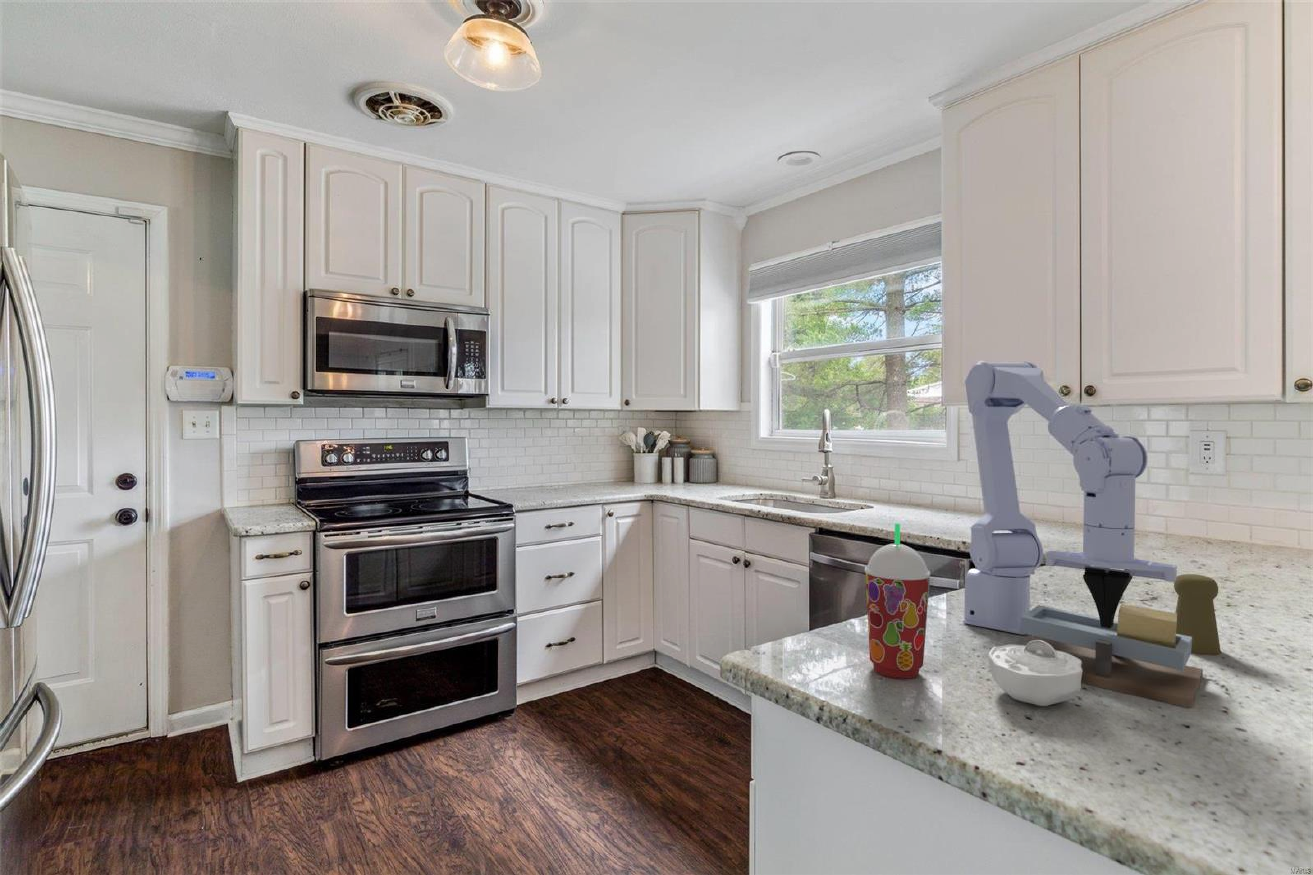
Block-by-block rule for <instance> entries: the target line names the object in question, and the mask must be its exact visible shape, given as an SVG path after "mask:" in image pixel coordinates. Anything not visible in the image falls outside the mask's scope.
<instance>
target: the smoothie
mask: <svg viewBox="0 0 1313 875" xmlns="http://www.w3.org/2000/svg"><path fill="white" fill-rule="evenodd" d="M864 572H865V593H866V611H867V628H868V629H867V630H868V646H869V648H868V649H869V650H868V651H869V660H870V662H871V663H872V665H873V669H874V671H875V672H876V673H878V674H879V675H882V676H884V677H888V678H892V679H901V680H902V679H904V680H905V679H906V680H907V679H912V678H916V677H918V675H919V674H920V670H921V668H923V667H924V658H925V649H926V648H925V646H926V645H925V644H926V635H927V634H926V633H927V620H928V606H929V605H928V604H929V594H930V593H929V592H930V583H931V582H930V578H931V571H930V570H929V569H928V568H927V564H926V562H925V561H924V559H923V557H922V556H921V555H920V554H919V552H917V551H916V550H915V549H914V548H912V547H910V546H908V545H905V544H902V543H901V524H900V523H894V543H889V544H886V545H883V546H880V548H877V550H876V551H875V552H874V553H873V554H872V555H871V557H870V559H869V561H868V563H867V565H865V566H864Z"/></svg>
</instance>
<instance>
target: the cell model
mask: <svg viewBox="0 0 1313 875" xmlns="http://www.w3.org/2000/svg"><path fill="white" fill-rule="evenodd" d="M1081 664H1082V661H1081V660H1080V659H1078V658H1077V657H1075V656H1072V655H1070V654H1068V653H1065V652H1062V651H1057V650H1054V648H1053V647H1052V646H1051V645H1050V644H1048V643H1047V642H1045V641H1042V640H1033V641H1030V642H1029V643H1028V644H1027V645H1026V646H1024V644H1023V645H1022V644H1015V643H1014V644H1013V643H1012V644H1005V645H1000V646H993V647H992V648H991V649H990V651H989V652H988V667H989V670H990V674H991V676H992V679H993V680H994V681H995V682H996V684H997V686H999V688H1000V689H1002V691H1003V692H1005V693H1006V694H1007V695H1009V696H1010V697H1011V698H1013V699H1015V700H1017V701H1019V702H1023V703H1028V704H1030V705H1035V706H1040V707H1047V706H1051V705H1054V704H1059V703H1064V702H1066V701H1069V700H1070V699H1072V698H1073V697H1074V696H1076V695H1078V694H1079V693H1080V690H1081V688H1082V683H1081V677H1082V671H1083V670H1082V668H1081Z"/></svg>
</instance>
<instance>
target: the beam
mask: <svg viewBox="0 0 1313 875" xmlns="http://www.w3.org/2000/svg"><path fill="white" fill-rule="evenodd" d="M1117 627H1118V620H1114V622H1113V626H1112V627H1111V628H1105V627H1101V624H1100V618H1099V616H1098V617H1096V616H1094V615H1090V614H1089V615H1088V614H1083V613H1080V612H1079V613H1078V612H1074V611H1070V610H1069V611H1068V610H1066V609H1065V610H1063V609H1060V608H1054V607H1049V606H1044V605H1041V604H1039V605H1037V606H1035V607H1034V608H1032V609H1030V611H1029V612H1028V613H1026V614H1025V615H1023V616H1022V617H1021V628H1020V632H1021V633H1025V635H1029V636H1033V637H1034V636H1037V637H1042V638H1046V639H1050V640H1054V641H1058V642H1063V643H1067V644H1071V645H1075V646H1079V647H1084V648H1088V649H1092V650H1095V649H1096V640H1102V641H1107V642H1112V654H1113V655H1117V656H1121V657H1126V658H1130V659H1134V660H1138V661H1143V662H1147V663H1151V664H1155V665H1159V666H1164V667H1168V668H1172V669H1176V670H1180V671H1183V670H1184V668H1185V666H1187V663H1188V661H1189V659H1190V657H1191V655H1192V653H1191V647H1192V637H1190V636H1185V635H1180V634H1176V639H1175V649H1174V648H1170V647H1165V646H1161V645H1156V644H1152V643H1147V642H1143V641H1138V640H1133V639H1129V638H1124V637H1120V636H1117Z"/></svg>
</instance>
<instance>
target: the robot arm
mask: <svg viewBox="0 0 1313 875" xmlns="http://www.w3.org/2000/svg"><path fill="white" fill-rule="evenodd" d="M1044 378H1045V375H1044V371H1043V370H1042V369H1041V368H1039V367H1038V366H1037V365H1036V364H1035V363H1033V362H1030V361H1024V362H1005V361H1003V362H1002V361H1000V362H999V361H998V362H997V361H992V362H991V361H986V360H979V361H977V362H975V363H974V364H973V365H972V366H971V368H970V370H969V372H968V374H967V376H966V378H965V381H964V382H965V383H964V384H965V391H966V397H967V398H966V399H967V406H968V412H969V413H970V414H971V417H972V427H973V432H974V433H973V434H974V435H973V436H974V442H975V448H976V456H977V464H978V471H979V479H980V488H981V493H982V495H981V496H982V502H983V503H982V504H983V509H984V510H983V511H984V515H983V516H981V517H980V519H978V520H977V521H976V522H974V524H973V525H971V526H970V534H971V536H970V537H971V538H970V539H971V540H970V544H969V555H970V558H971V561H972V563H973V564H974V566H975V567H976V568H970V569H969V570H968V572H967V574H966V577H965V581H964V611H963V612H964V615H963V616H964V619H963V620H962V623H963V624H966V625H972V626H977V627H982V628H987V629H991V630H998V631H1002V632H1006V633H1013V634H1017V635H1021V636H1023V635H1026V634H1025V633H1021V632H1020V628H1021V617H1022V616H1023V615H1025V614H1026V613H1028V612H1029V611H1031V575H1032V576H1033V575H1036V574H1035V571H1036V569H1037V568H1039V567H1040V566H1041V564H1042V562H1043V558H1044V548H1043V545H1042V542H1041V540H1040V539H1039V536H1038V534H1037V528H1036V525H1035V523H1034V521H1031V519H1029V518H1028V517H1026V516H1025V515H1024V514H1022V513H1021V510H1020V503H1019V495H1018V489H1017V482H1016V481H1017V480H1016V475H1015V468H1014V462H1013V461H1014V460H1013V455H1012V454H1013V453H1012V446H1011V438H1010V430H1009V425H1008V421H1009V420H1010V419H1011V417H1012V416H1013V415H1016V414H1018V413H1019V412H1020V411H1021V410H1022V409H1023V408H1024V407H1025V406H1026V405H1027V406H1028V407H1029V408H1031V409H1032V410H1033V411H1035V413H1037V414H1038V415H1040V416H1041V417H1042V418H1043V419H1045V420H1046V421H1047V422H1048V423H1047V429H1048V430H1047V431H1048V433H1049V434H1050V435H1051V437H1053V438H1054V439H1055V440H1056V441H1057V442H1058V443H1059V444H1060V445H1061V446H1062V447H1064V449H1066V450H1067V451H1068V452H1069V453H1070V454H1071V455H1072V457H1073V458H1072V461H1073V466H1074V469H1075V472H1076V473H1077V474H1078V476H1079V477H1078V478H1079V487H1081V488H1080V490H1081V491H1083V529H1082V530H1083V531H1082V532H1083V533H1082V534H1083V535H1082V536H1083V539H1082V540H1083V542H1082V552H1074V551H1073V552H1070V551H1059V550H1047V551H1045V566H1047V567H1061V568H1069V569H1075V570H1076V569H1077V570H1083V571H1084V573H1083V575H1082V578H1083V581H1084V583H1085V584H1086V586H1087V589H1088V590H1089V592H1090V595H1091V597H1092V598H1093V602H1094V604H1095V607H1096V610H1097V614H1098V618H1100V624H1101V627H1105V628H1111V627H1112V626H1113V622H1114V621H1115V616H1116V612H1117V610H1118V608H1119V604H1120V601H1121V599H1122V597H1123V595H1124V593H1125V592H1126V590H1127V587H1129V584H1130V583H1131V581H1132V579H1133V578H1134V577H1138V578H1146V579H1147V578H1148V579H1152V580H1153V579H1154V580H1161V581H1164V582H1168V583H1170V582H1171V583H1174V582H1175V581H1176V580H1177V576H1178V575H1177V574H1178V573H1177V572H1178V571H1177V570H1178V566H1177V564H1170V563H1163V562H1156V561H1150V560H1143V559H1138V558H1137V559H1136V558H1135V533H1136V532H1135V530H1136V529H1135V525H1136V521H1135V520H1136V519H1135V518H1136V478H1140V477H1141V475H1143V473H1144V472H1145V470H1146V468H1147V465H1148V454H1147V450H1146V448H1145V445H1143V443H1142V442H1140V441H1139V439H1138V437H1135V436H1133V435H1132V436H1131V435H1123V436H1122V435H1121V434H1119V433H1115V431H1114V430H1115V429H1113V428H1112V427H1111V426H1110V425H1106V424H1105V423H1104V422H1103V421H1101V420H1100V419H1099V418H1098V417H1096V416H1095V415H1094V414H1093V413H1092V411H1093V409H1091V408H1090V407H1089V406H1088V405H1082V404H1081V405H1080V404H1068V403H1067V402H1066V401H1065V399H1063V397H1061V395H1059V393H1057V392H1056V390H1054V388H1053V387H1052V386H1051V385H1050V384H1049V383H1048V382H1047V381H1046V380H1045V379H1044ZM995 531H1001V532H995ZM1003 531H1004V532H1003ZM1005 531H1006V532H1005ZM1007 531H1008V532H1007Z"/></svg>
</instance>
